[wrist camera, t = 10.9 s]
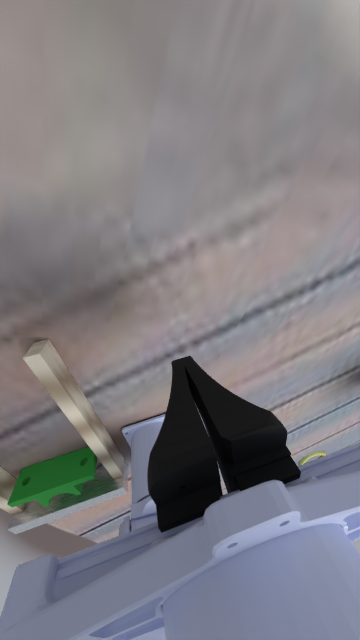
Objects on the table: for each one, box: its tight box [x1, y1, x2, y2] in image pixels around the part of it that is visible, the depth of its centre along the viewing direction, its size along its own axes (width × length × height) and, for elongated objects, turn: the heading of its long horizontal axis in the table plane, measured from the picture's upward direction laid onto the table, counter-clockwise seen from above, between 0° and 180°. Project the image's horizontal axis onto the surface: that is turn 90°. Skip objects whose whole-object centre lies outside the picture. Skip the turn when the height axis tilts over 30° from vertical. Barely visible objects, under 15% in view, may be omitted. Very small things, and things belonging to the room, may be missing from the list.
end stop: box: [7, 459, 128, 534], centre depth 30 cm, size 2×16×4 cm, turn 101°
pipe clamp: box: [7, 447, 97, 507], centre depth 28 cm, size 10×4×4 cm, turn 101°
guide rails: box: [0, 339, 124, 515], centre depth 24 cm, size 24×16×2 cm, turn 11°
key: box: [299, 451, 326, 465], centre depth 51 cm, size 7×12×2 cm, turn 24°
